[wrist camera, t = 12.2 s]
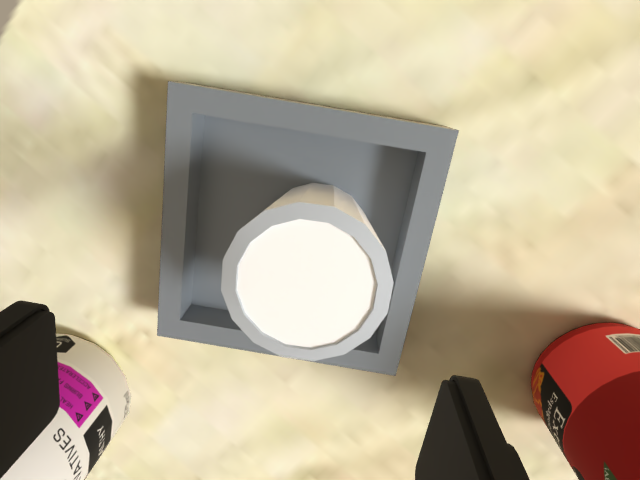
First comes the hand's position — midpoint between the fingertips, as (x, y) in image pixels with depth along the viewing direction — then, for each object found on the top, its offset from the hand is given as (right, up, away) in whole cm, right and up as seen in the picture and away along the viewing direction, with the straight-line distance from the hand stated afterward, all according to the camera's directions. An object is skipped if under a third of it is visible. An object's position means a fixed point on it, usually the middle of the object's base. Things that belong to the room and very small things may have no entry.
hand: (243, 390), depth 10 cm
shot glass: (+2, +4, +14) cm, 14 cm away
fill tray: (+1, +4, +14) cm, 15 cm away
